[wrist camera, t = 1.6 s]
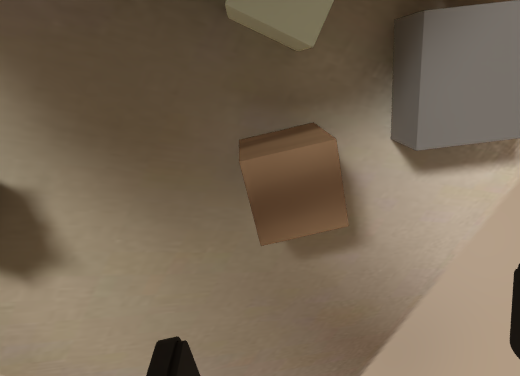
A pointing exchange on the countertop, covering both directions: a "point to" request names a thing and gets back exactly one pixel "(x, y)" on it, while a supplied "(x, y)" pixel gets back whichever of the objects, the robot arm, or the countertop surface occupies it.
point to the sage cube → (282, 19)
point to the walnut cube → (293, 183)
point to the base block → (457, 76)
